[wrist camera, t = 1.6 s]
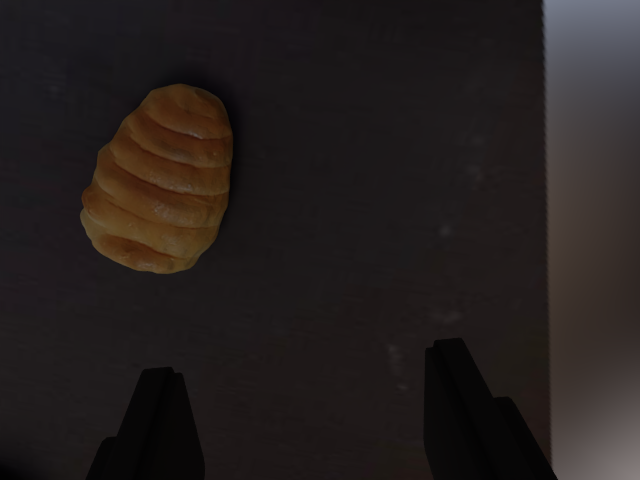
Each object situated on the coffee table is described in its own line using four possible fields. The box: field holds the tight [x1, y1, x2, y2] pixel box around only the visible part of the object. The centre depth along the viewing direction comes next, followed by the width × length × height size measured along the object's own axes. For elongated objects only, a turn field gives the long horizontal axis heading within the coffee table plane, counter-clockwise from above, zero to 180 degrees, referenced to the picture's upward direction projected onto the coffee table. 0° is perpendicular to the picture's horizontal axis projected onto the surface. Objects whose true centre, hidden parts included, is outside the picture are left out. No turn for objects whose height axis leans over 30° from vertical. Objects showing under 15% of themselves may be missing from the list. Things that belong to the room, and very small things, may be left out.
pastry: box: [80, 83, 233, 273], centre depth 24 cm, size 9×7×4 cm
